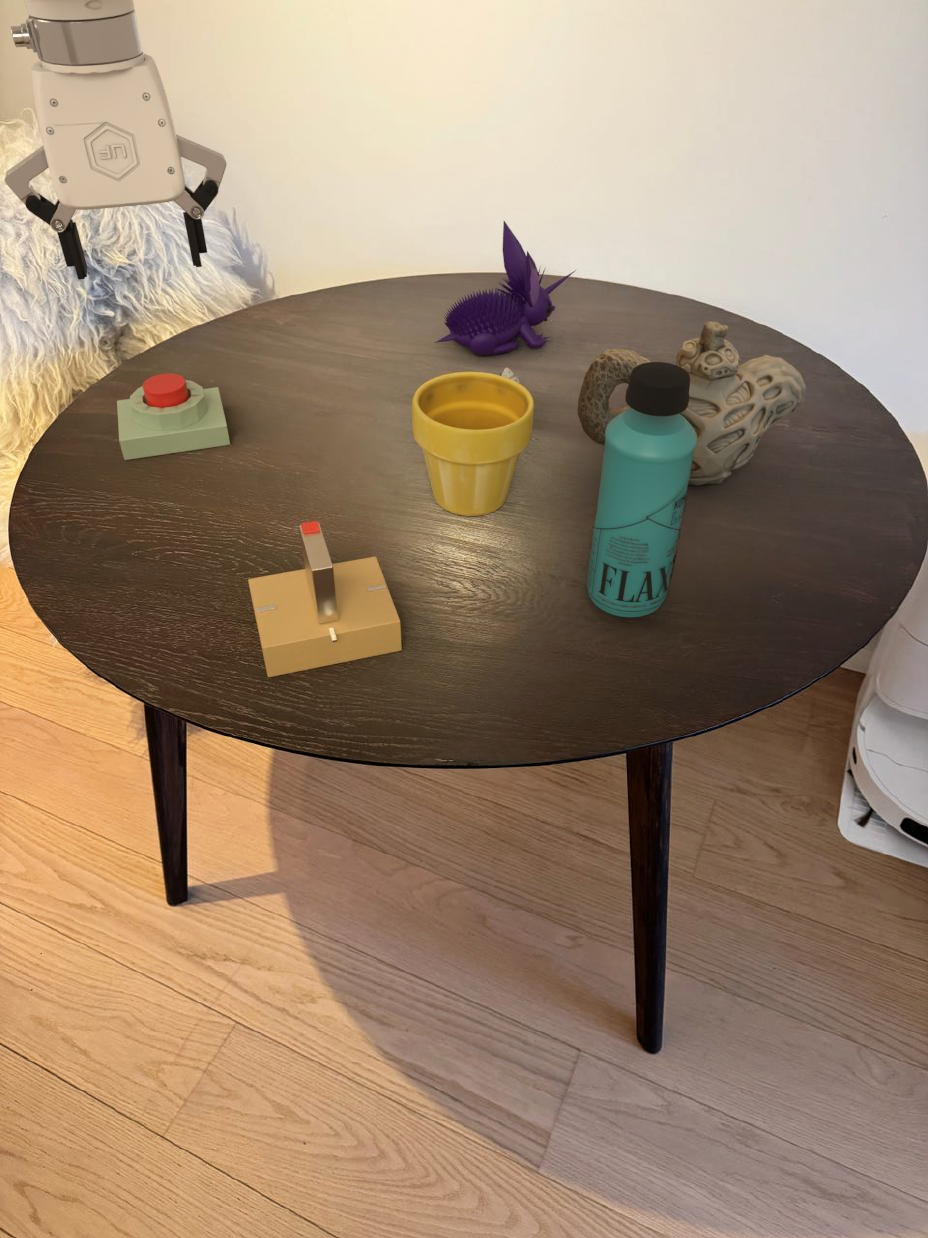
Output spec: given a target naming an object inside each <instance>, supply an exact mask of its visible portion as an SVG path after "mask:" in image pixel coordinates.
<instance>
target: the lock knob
mask: <svg viewBox="0 0 928 1238" xmlns="http://www.w3.org/2000/svg"><path fill="white" fill-rule="evenodd" d="M298 528H299V537H300V544H301V551H302V557H303V565H304V569H305V573H306V579H307V583H308V586H309V590H310V594H311V597H312V601H313V605H314V608H315V612H316V616H317V619H318V623H319V624H321V623H326V622H332V621H337V620H339V615H338V606H337V597H336V588H335V579H334V570H333V565H332V564H333V562H332V559H331V555H330V552H329V549H328V546H327V543H326V539H325V536H324V533H323V530H322V527H321V524H320V522H319V521H318V520H314V521H307V522H301V523H300V525H299V526H298Z"/></svg>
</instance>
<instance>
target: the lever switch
mask: <svg viewBox="0 0 928 1238" xmlns="http://www.w3.org/2000/svg"><path fill="white" fill-rule="evenodd" d="M332 565H333V570H334V579H335V588H336V597H337V606H338V615H339V620H337V621H332V622H326V623H321V624H319V623H318V619H317V616H316V612H315V608H314V605H313V601H312V597H311V594H310V590H309V586H308V583H307V579H306V573H305V568H303V569H296V570H292V571H286V572H285V571H284V572H279V573H275V574H269V575H264V576H258V577H252V578H248V580H247V582H248V587H249V592H250V597H251V603H252V608H253V613H254V618H255V622H256V627H257V633H258V636H259V641H260V642H259V643H260V647H261V652H262V656H263V661H264V666H265V670H266V676H267V677H268V678H273V677H278V676H284V675H287V674H293V673H297V672H303V671H308V670H313V669H317V668H322V667H327V666H332V665H337V664H341V663H347V662H351V661H356V660H362V659H366V658H371V657H377V656H381V655H386V654H387V655H388V654H391V653H396V652H400V651H402V650H403V644H402V643H403V642H402V627H401V626H402V625H401V619H400V617H399V614H398V611H397V608H396V605H395V603H394V600H393V598H392V595H391V592H390V590H389V587H388V584H387V582H386V579H385V577H384V574H383V571H382V569H381V568H382V567H381V565H380V564H379V560H378V558H377V556H370V557H364V558H358V559H353V560H348V561H341V562H337V563H336V562H335V563H332Z"/></svg>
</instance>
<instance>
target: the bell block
mask: <svg viewBox="0 0 928 1238" xmlns="http://www.w3.org/2000/svg"><path fill="white" fill-rule="evenodd" d="M185 381H186V385H187V390H188V395H189V399H188V400H187V401H186V402H184V403H182V404H180V405H177V406H174V407H166V408H158V407H150V406H148V404H147V402H146V398H145V394H144V390H143V385H142V386H139V387H138V388H137V389H136V390H135V391H133V393H131V394H130V395H129V398H125V399H118V400H116V408H117V410H116V411H117V426H118V427H117V428H118V429H117V430H118V442H119V446H120V449H121V453H122V456H123V460H124V461H128V460H136V459H143V458H149V457H156V456H164V455H169V454H177V453H184V452H191V451H197V450H203V449H205V450H206V449H211V448H218V447H222V446H223V447H224V446H230V445H231V440H230V435H229V428H228V424H227V420H226V415H225V411H224V406H223V405H224V404H223V401H222V396H221V391H220V388H219V386H217V387H216V386H215V387H208V388H204V387H203V386H201V385H200V384H198V383H196V382H195V381H193V380H188V379H185Z"/></svg>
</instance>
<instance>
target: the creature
mask: <svg viewBox="0 0 928 1238" xmlns="http://www.w3.org/2000/svg"><path fill="white" fill-rule="evenodd" d="M502 227H503V229H502V258H503V268H504V270H505V273H506V276H507V278H508V279H507V278H506V277H504V276H503V278H502V280H503V281H504V282H505V283H506V284H507V285H508V286H507V285H505V284H504V283H502V282H498V284H499V285H500V286H501V287H502V288H504V289H500V288H498V287H497V288H495V287H494V288H491V289H488V290H487V289H485V290H482V292H481V289H480V288H479V290H478V291H479V292H478V291H476V292H475V291H472V292H470V293H467V296H466V295H464V297H463V296H461V298H460V297H458V298H459V300H458V299H456V301H454V304H452V305H450V307H451V308H449V307H448V308H447V312H446V313H445V315H444V317H443V319H444V321H443V323H444V324H445V326H446V327H447V329H448V330H449V334H446V335H445V336H443V337H442V338H440V339H438V340H436V341H435V342H434V344H436V343H442V342H450V341H454V342H455V343H456V344H458V345H459V346H461V347H463V348H466V349H469V350H470V351H471V352H472V354H474V355H476V356H480V357H483V356H488V355H498V354H504V353H507V352H511V351H512V350H515V349H516V348H518V347H523V344H520V343H521V341H518V342H517V340H518V337H520V338H521V339H522V340H523V341H524V342H525V344H526V345H527V346H528V347H530V348H533V349H538V348H541V347H543V346H544V345H545V344H546V343H549V342H552V340H546V339H548V338H552V337H553V336H552V335H551V336H546V337H544V336H543V335H544V332H542V333H540V334H538V333H536V331H535V330H534V329H533V327H536V326H538V325H540V324H542V323H544V322H548V318H549V317H551V315H552V313H553V311H555V310H556V306H555V305H554V304H553V302H552V300H551V297H550V294H551V293H552V292H553V291H555V289H557V287H559V286H560V285H561V284H562V283H563V282H565V281H566V280H567V279H568V278H569V277H570V276H572V274H574V273H575V272H576V271H577V269H575V270H574V271H571V272H570V273H569V274H567V275H566V276H563V277H562V278H560V279H559V280H557V281H555V282H554V283H553V284H551V285H549V286H547V287H546V288H544V287H543V286H541V283H542V280H543V277H544V274H545V271H546V268H547V267H546V266H545V267H544V270H543V272H542V274H541V276H540V273H541V272H540V271H541V267H542V265H540V266H539V270H538V268H537V264H536V262H535V260H534V259H533V257H532V256H531V254H530V252H529V251H528V250H527V251H526V253H525V250H524V248H523V246H522V244H521V243H520V241H519V240H518V238H517V237H516V236H515V234H514V233H513V231H512V230H511V228H510V227H509V225H508V224H507V222H506V221H505V220H503V226H502ZM539 277H540V278H539ZM493 289H495V290H493ZM505 290H506V291H505ZM475 293H476V294H475ZM472 294H473V295H472ZM469 295H470V296H469ZM456 302H457V303H456Z"/></svg>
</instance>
